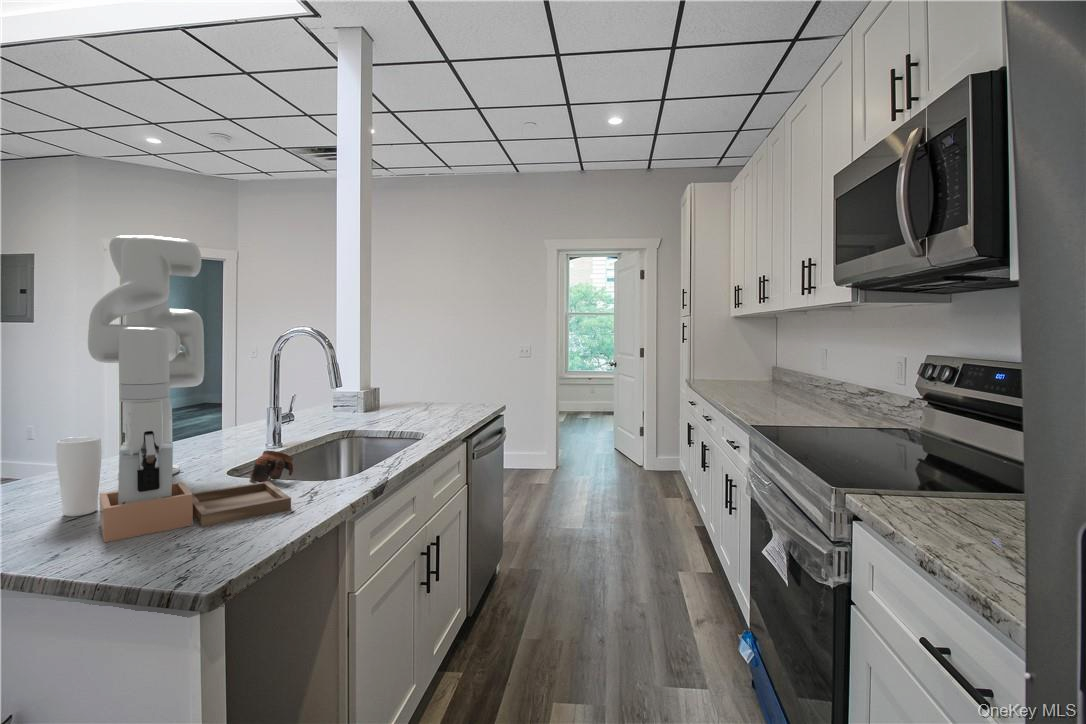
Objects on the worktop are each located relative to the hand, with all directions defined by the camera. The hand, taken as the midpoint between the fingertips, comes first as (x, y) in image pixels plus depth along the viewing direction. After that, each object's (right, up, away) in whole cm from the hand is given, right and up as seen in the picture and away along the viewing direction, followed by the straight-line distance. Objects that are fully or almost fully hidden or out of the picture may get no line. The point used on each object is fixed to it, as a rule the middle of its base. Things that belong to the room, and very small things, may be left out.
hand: (146, 484), depth 99 cm
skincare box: (0, -7, 0) cm, 7 cm away
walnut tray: (+11, -7, +11) cm, 17 cm away
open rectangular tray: (0, -8, 0) cm, 8 cm away
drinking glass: (-18, -7, +5) cm, 20 cm away
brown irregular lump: (+7, -7, +32) cm, 34 cm away
